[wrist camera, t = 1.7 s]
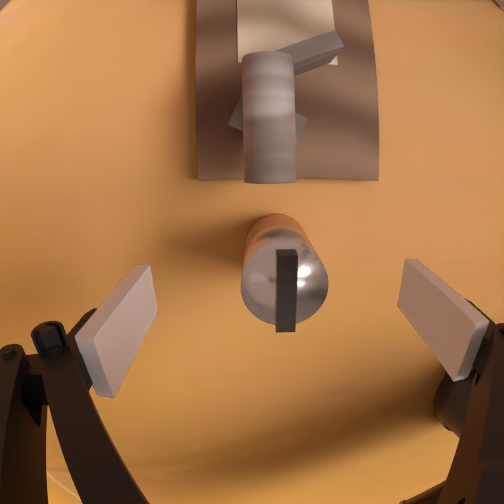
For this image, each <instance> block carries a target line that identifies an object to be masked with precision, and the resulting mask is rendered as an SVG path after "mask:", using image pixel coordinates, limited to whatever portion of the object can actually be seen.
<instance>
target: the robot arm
mask: <svg viewBox="0 0 504 504" xmlns="http://www.w3.org/2000/svg"><path fill="white" fill-rule="evenodd" d="M397 306H398V308H399V309H400V310H401V311H402V313H403V314H404V315H405V317H406V318H407V319H408V320H409V322H410V323H411V324H412V325H413V327H414V328H415V329H416V331H417V332H418V333H419V335H420V336H421V337H422V339H423V340H424V341H425V343H426V344H427V345H428V347H429V348H430V349H431V351H432V352H433V353H434V355H435V356H436V357H437V359H438V360H439V362H440V363H441V364H442V366H443V367H444V368H445V370H446V371H447V375H446V376H445V378H444V379H443V381H442V383H441V385H440V387H439V389H438V391H437V393H436V396H435V400H434V411H435V413H436V415H437V417H438V419H439V421H440V422H441V424H442V425H443V427H445V428H446V429H447V430H449V431H452V432H453V433H455V434H456V435H457V436H458V437H459V438H460V439H459V443H458V446H457V450H456V453H455V456H454V459H453V462H452V465H451V468H450V471H449V473H448V476H447V479H446V480H445V481H443V482H441V483H440V484H438V485H436V486H434V487H432V488H430V489H428V490H426V491H425V492H423V493H421V494H419V495H417V496H414V497H412V498H410V499H408V500H403V501H401V502H400V503H399V504H504V323H499V324H495V323H494V322H493V321H492V320H491V319H490V318H489V317H487V316H486V315H485V314H484V313H483V312H482V311H481V310H480V309H479V308H477V307H476V306H475V305H474V304H473V303H472V302H471V301H469V300H467V299H465V298H463V297H462V296H461V295H460V294H459V293H457V292H456V291H455V290H454V289H453V288H452V287H450V286H449V285H448V284H447V283H446V282H444V281H443V280H442V279H441V278H440V277H438V276H437V275H436V274H435V273H434V272H432V271H431V270H430V269H429V268H427V267H426V266H425V265H424V264H422V263H421V262H420V261H419V260H417V259H405V262H404V268H403V275H402V281H401V286H400V292H399V297H398V303H397ZM157 313H158V310H157V304H156V298H155V292H154V286H153V279H152V273H151V266H150V265H136V266H135V267H134V268H133V269H132V270H131V271H130V273H129V274H128V275H127V276H126V277H125V278H124V279H123V280H122V281H121V283H120V284H119V285H118V286H117V287H116V288H115V289H114V291H113V292H112V293H111V294H110V295H109V296H108V297H107V299H106V300H105V301H104V302H103V303H102V304H101V305H100V307H99V308H94V309H92V310H90V311H89V312H87V313H85V314H84V316H83V317H82V318H81V319H80V321H78V322H77V324H76V325H75V326H74V327H73V328H72V329H71V331H70V332H69V333H68V334H67V335H66V333H65V330H64V327H63V325H62V323H61V322H58V321H48V322H44V323H42V324H39V325H38V326H36V327H35V328H34V329H33V330H32V332H31V337H32V340H33V342H34V345H35V347H36V350H37V352H38V354H32V355H26V354H25V352H24V350H23V348H22V346H21V345H18V344H11V345H6V346H4V347H2V349H0V504H48V494H47V477H46V424H47V407H48V405H49V408H50V412H51V416H52V420H53V423H54V427H55V430H56V434H57V437H58V440H59V443H60V446H61V449H62V452H63V455H64V458H65V461H66V464H67V466H68V469H69V472H70V474H71V477H72V480H73V482H74V484H75V487H76V489H77V492H78V494H79V496H80V499H81V501H82V503H83V504H149V502H148V501H147V499H146V498H145V496H144V495H143V493H142V492H141V490H140V488H139V487H138V485H137V484H136V482H135V481H134V479H133V477H132V476H131V474H130V472H129V471H128V469H127V467H126V466H125V464H124V462H123V460H122V459H121V457H120V455H119V453H118V451H117V449H116V448H115V446H114V444H113V442H112V440H111V438H110V436H109V434H108V432H107V430H106V428H105V426H104V424H103V422H102V420H101V418H100V416H99V414H98V411H97V409H96V407H95V405H94V403H93V400H92V398H91V396H90V394H89V390H90V388H91V386H92V384H93V387H94V389H95V391H96V394H97V395H98V396H104V397H110V398H115V396H116V394H117V392H118V390H119V388H120V386H121V384H122V382H123V380H124V378H125V376H126V374H127V372H128V370H129V368H130V366H131V364H132V362H133V360H134V358H135V356H136V354H137V352H138V350H139V348H140V346H141V344H142V342H143V340H144V338H145V336H146V334H147V332H148V330H149V328H150V327H151V325H152V323H153V321H154V319H155V317H156V315H157Z"/></svg>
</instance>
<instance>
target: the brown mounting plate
mask: <svg viewBox="0 0 504 504" xmlns="http://www.w3.org/2000/svg"><path fill="white" fill-rule="evenodd" d="M196 136H197V165H198V181H210V180H238V179H244V182H246V183H255V184H282V183H293V182H296V179H339V180H366V181H378V175H379V117H378V93H377V77H376V64H375V53H374V43H373V35H372V27H371V19H370V12H369V6H368V0H197V8H196Z"/></svg>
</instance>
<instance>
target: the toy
mask: <svg viewBox="0 0 504 504" xmlns="http://www.w3.org/2000/svg"><path fill="white" fill-rule="evenodd" d="M495 2H496V3H497V4H498V6H499V7H500V8H501V9H503V10H504V0H495Z"/></svg>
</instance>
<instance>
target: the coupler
mask: <svg viewBox="0 0 504 504" xmlns="http://www.w3.org/2000/svg"><path fill="white" fill-rule="evenodd" d="M327 292H328V276H327V272H326V270H325V267H324V265H323V264H322V262H321V260H320V258H319V256H318V255H317V253H316V251H315V249H314V248H313V246H312V244H311V242H310V240H309V239H308V237H307V235H306V233H305V232H304V230H303V228H302V227H301V225H300V224H299V223H298V222H297V221H296V220H294V219H293V218H291V217H289V216H286V215H282V214H271V215H267V216H264V217H262V218H260V219H259V220H258V221H256V222H255V223H254V224H253V225H252V227H251V228H250V230H249V232H248V235H247V239H246V247H245V255H244V263H243V271H242V279H241V294H242V298H243V301H244V303H245V305H246V307H247V308H248V309H249V311H250V312H251V313H252V314H253V315H254V316H256V317H257V318H258V319H260V320H262V321H264V322H267V323H270V324H273V325H275V327H276V332H295V325H296V323H299V322H302V321H304V320H306V319H308V318H309V317H311V316H312V315H313V314H314V313H315V312H317V311H318V309H319V308H320V307H321V305H322V304H323V302H324V300H325V298H326V295H327Z"/></svg>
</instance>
